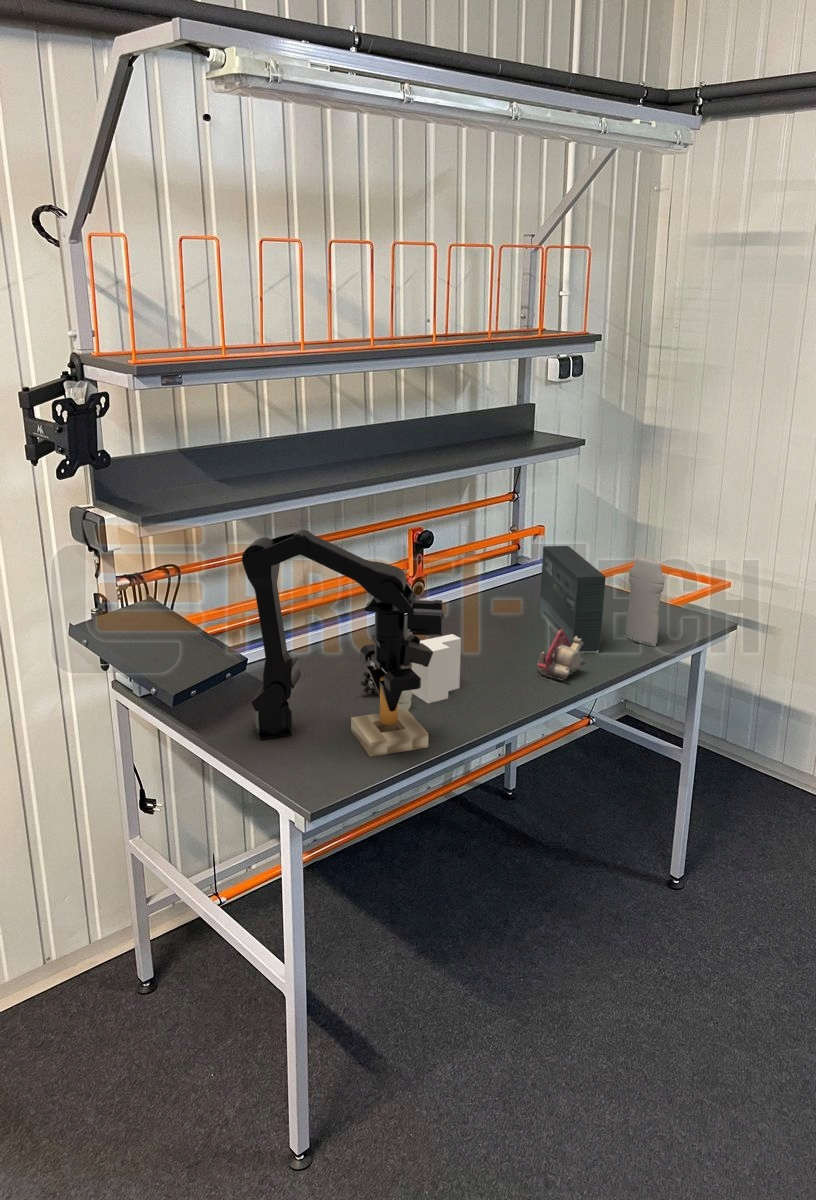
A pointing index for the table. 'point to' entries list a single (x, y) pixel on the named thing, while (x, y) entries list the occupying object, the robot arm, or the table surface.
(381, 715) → the peg
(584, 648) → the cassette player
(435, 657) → the corner bracket
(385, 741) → the socket block
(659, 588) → the tall pale column
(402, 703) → the valve
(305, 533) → the robot arm
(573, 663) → the brake caliper
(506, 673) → the table surface
